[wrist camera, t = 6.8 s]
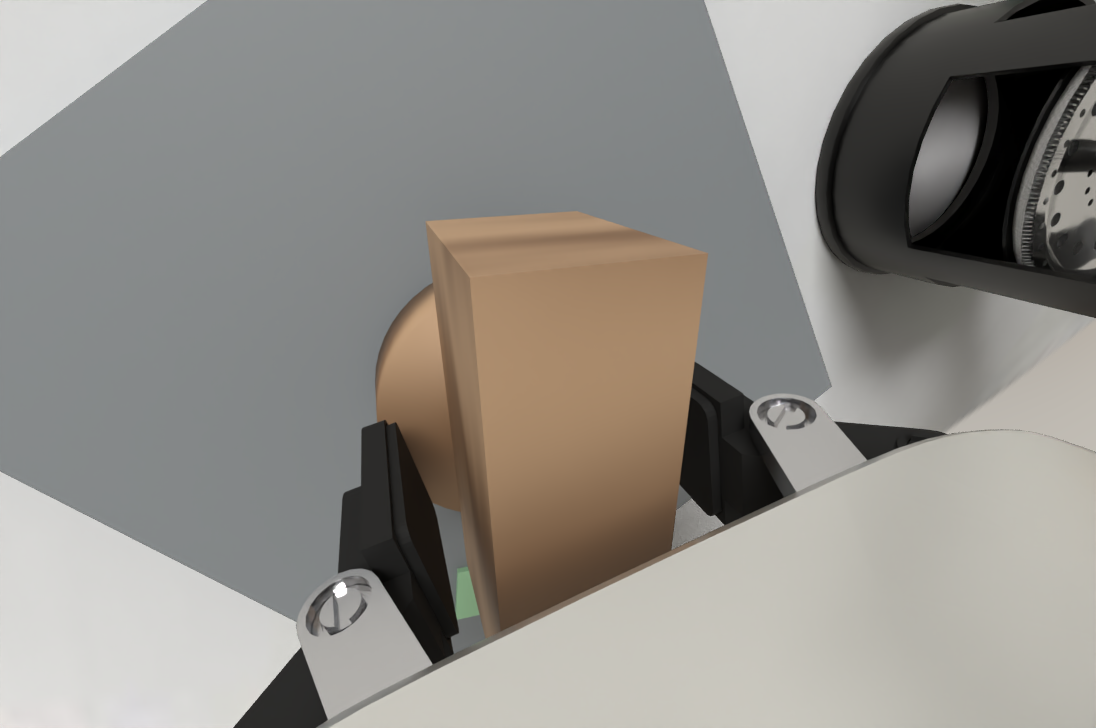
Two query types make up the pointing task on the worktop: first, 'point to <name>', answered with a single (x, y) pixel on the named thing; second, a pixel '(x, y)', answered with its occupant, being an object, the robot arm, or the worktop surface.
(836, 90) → the worktop surface
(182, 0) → the worktop surface
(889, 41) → the french press
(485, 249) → the knob
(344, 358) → the dial plate
